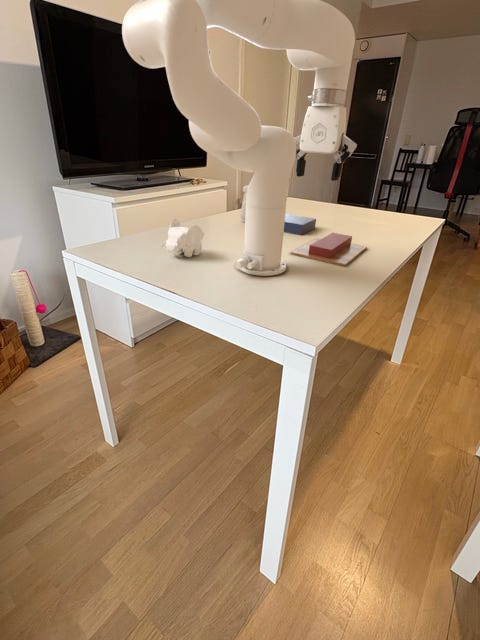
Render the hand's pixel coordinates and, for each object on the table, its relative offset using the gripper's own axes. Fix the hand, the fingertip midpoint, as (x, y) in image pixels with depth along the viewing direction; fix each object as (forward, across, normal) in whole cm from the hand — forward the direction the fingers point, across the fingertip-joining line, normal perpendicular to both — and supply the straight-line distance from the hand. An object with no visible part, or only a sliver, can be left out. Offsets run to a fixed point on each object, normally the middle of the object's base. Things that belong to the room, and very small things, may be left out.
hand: (316, 178), depth 89 cm
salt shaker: (+20, -35, +22) cm, 46 cm away
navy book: (+20, -19, +24) cm, 37 cm away
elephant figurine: (+21, -26, -23) cm, 41 cm away
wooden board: (+20, +4, +8) cm, 22 cm away
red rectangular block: (+20, +4, +8) cm, 22 cm away
